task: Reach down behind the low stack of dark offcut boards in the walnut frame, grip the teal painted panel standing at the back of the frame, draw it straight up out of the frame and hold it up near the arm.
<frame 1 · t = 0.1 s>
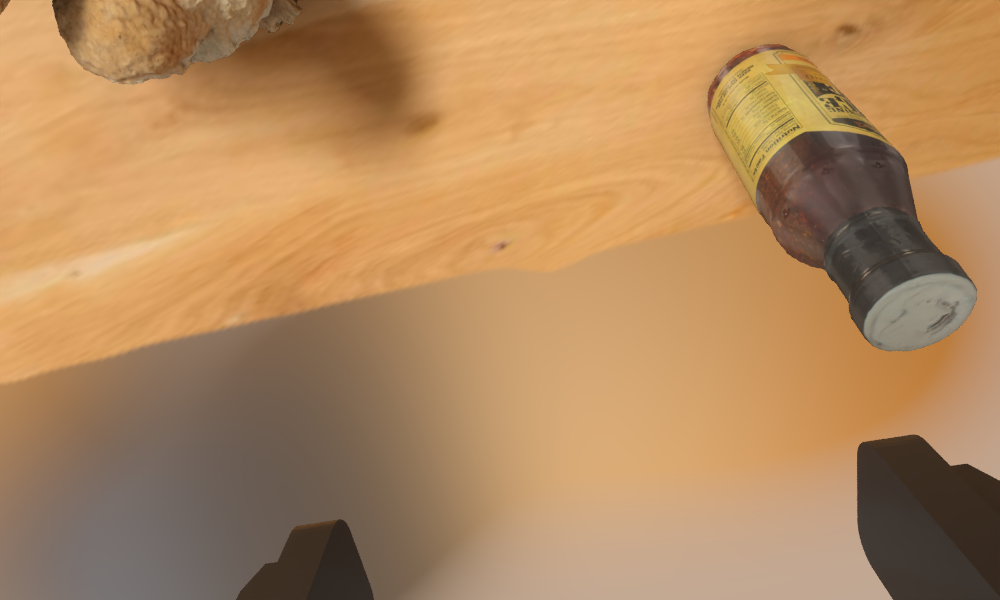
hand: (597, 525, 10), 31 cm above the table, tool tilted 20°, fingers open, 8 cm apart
sauce bottle: (752, 85, 39), on the table
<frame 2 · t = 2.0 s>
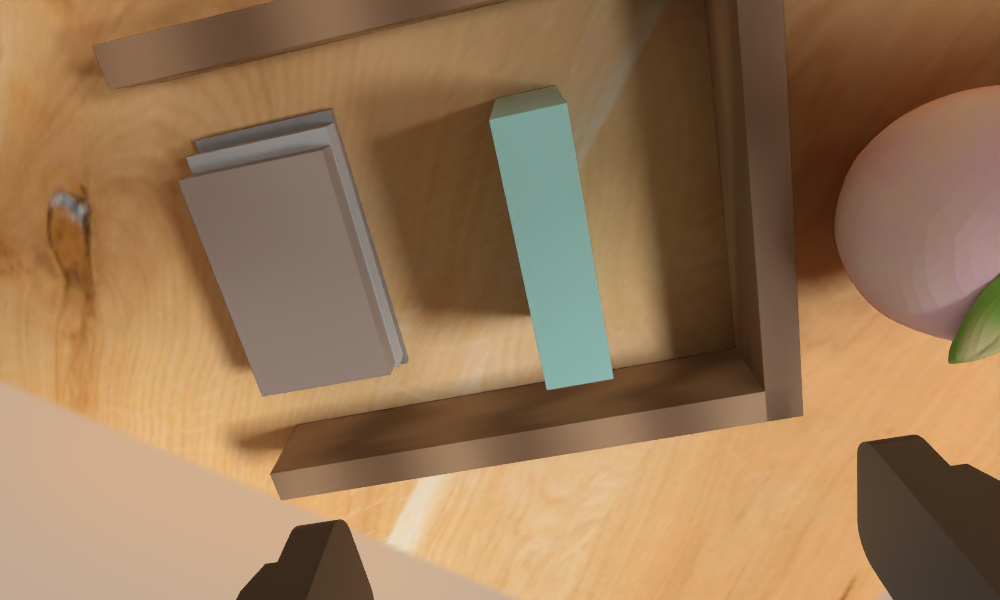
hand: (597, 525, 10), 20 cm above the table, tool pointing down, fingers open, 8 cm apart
teal panel: (547, 207, 29), resting in walnut frame
middle offcut: (307, 259, 30), resting on bottom offcut, touching top offcut
bottom offcut: (315, 250, 31), on the table, touching middle offcut
top offcut: (298, 273, 29), point 2 cm above the table, touching middle offcut
decorative fruit: (887, 184, 28), on the table
walnut frame: (491, 219, 29), on the table
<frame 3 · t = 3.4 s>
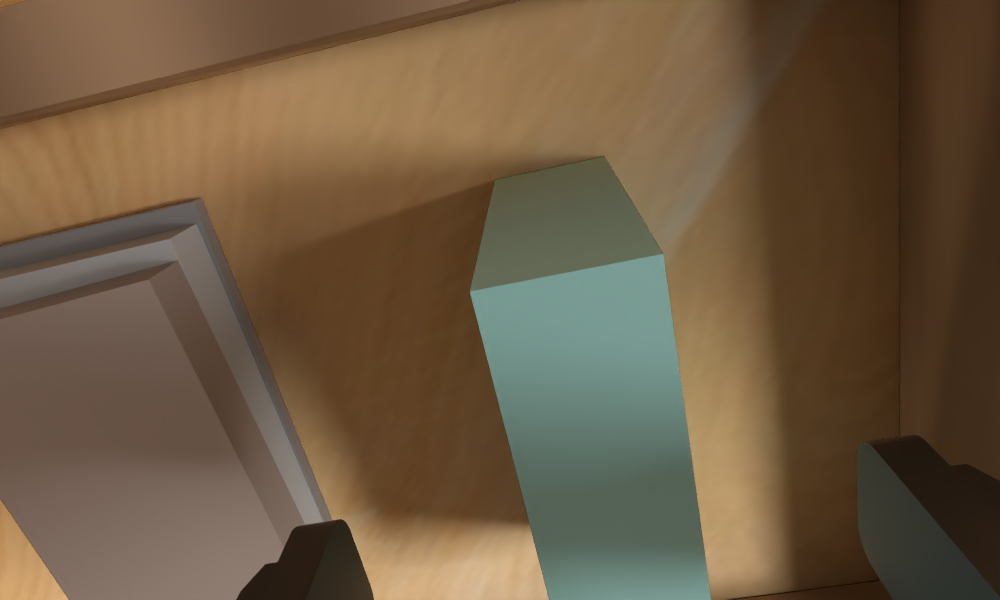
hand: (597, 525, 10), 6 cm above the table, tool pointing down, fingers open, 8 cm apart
teal panel: (586, 361, 17), resting in walnut frame
middle offcut: (176, 443, 18), resting on bottom offcut, touching top offcut
bottom offcut: (199, 417, 19), on the table, touching middle offcut
top offcut: (158, 472, 16), point 2 cm above the table, touching middle offcut
walnut frame: (490, 380, 17), on the table
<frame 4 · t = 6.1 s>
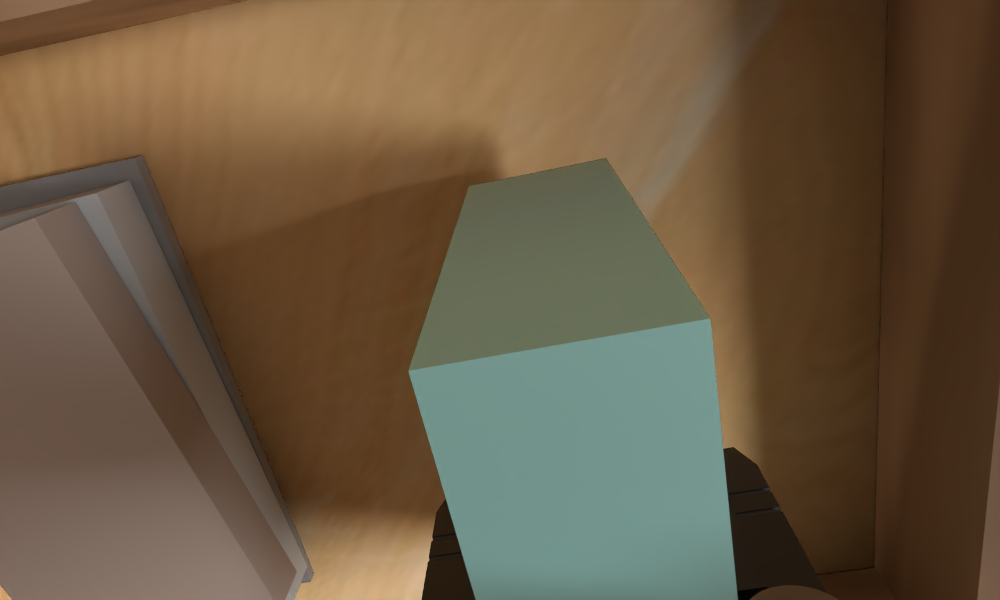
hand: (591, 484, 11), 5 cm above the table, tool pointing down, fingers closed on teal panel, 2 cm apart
teal panel: (581, 407, 14), point 2 cm above the table, touching gripper
middle offcut: (118, 420, 16), resting on bottom offcut, touching top offcut
bottom offcut: (146, 394, 18), on the table, touching middle offcut
top offcut: (86, 443, 15), point 2 cm above the table, touching middle offcut
walnut frame: (454, 357, 16), on the table
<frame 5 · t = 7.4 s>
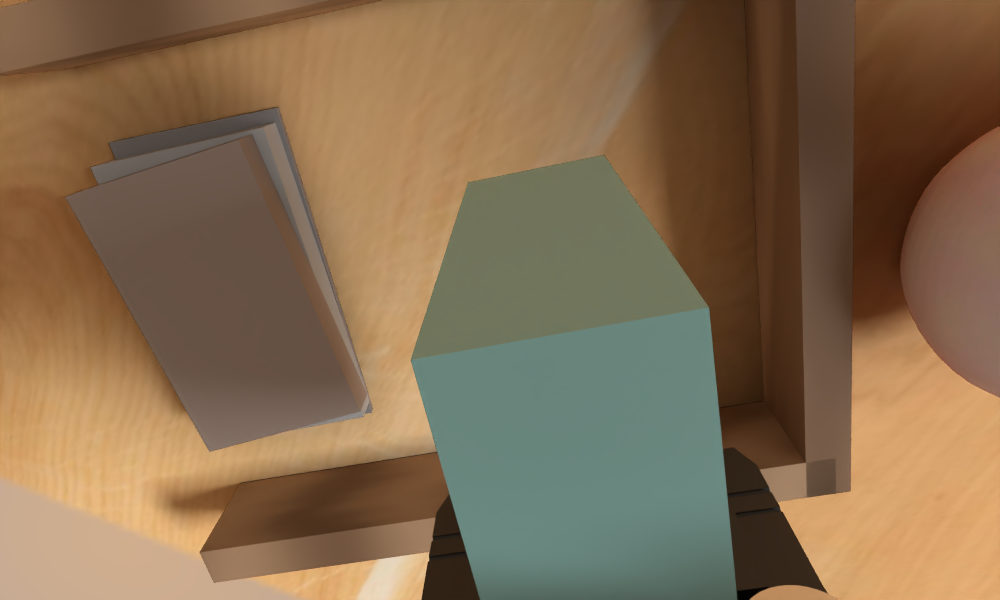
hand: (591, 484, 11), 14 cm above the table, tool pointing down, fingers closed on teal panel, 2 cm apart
teal panel: (579, 403, 14), point 11 cm above the table, touching gripper
middle offcut: (249, 288, 24), resting on bottom offcut, touching top offcut
bottom offcut: (261, 277, 26), on the table, touching middle offcut
top offcut: (235, 297, 23), point 1 cm above the table, touching middle offcut
decorative fruit: (954, 211, 23), on the table
walnut frame: (474, 245, 24), on the table
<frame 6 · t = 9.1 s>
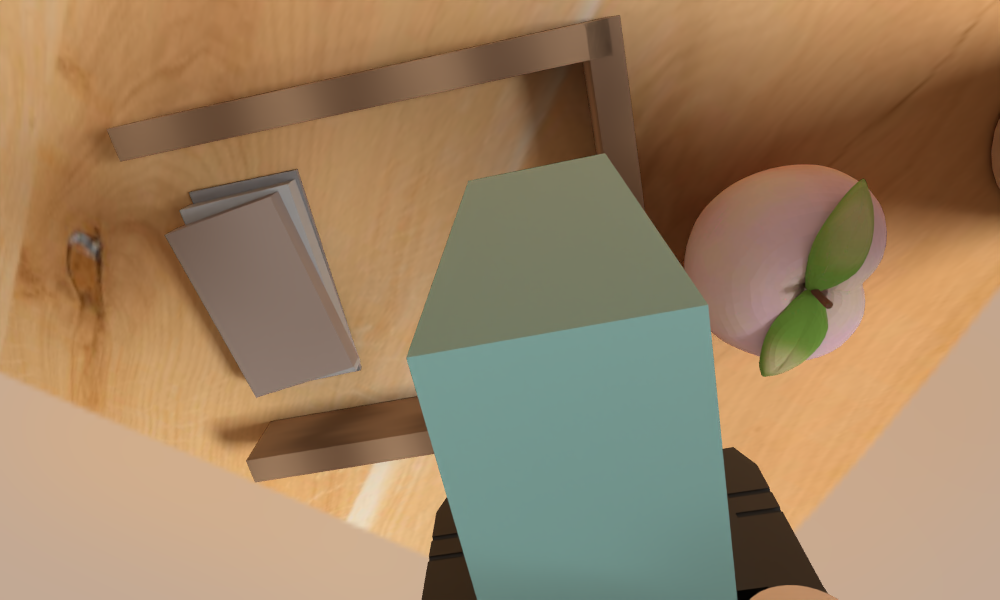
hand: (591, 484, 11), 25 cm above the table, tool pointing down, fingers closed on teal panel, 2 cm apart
teal panel: (580, 403, 14), point 22 cm above the table, touching gripper
middle offcut: (279, 286, 37), resting on bottom offcut, touching top offcut
bottom offcut: (286, 278, 38), on the table, touching middle offcut
top offcut: (270, 295, 36), point 1 cm above the table, touching middle offcut
decorative fruit: (740, 231, 36), on the table
walnut frame: (425, 256, 36), on the table
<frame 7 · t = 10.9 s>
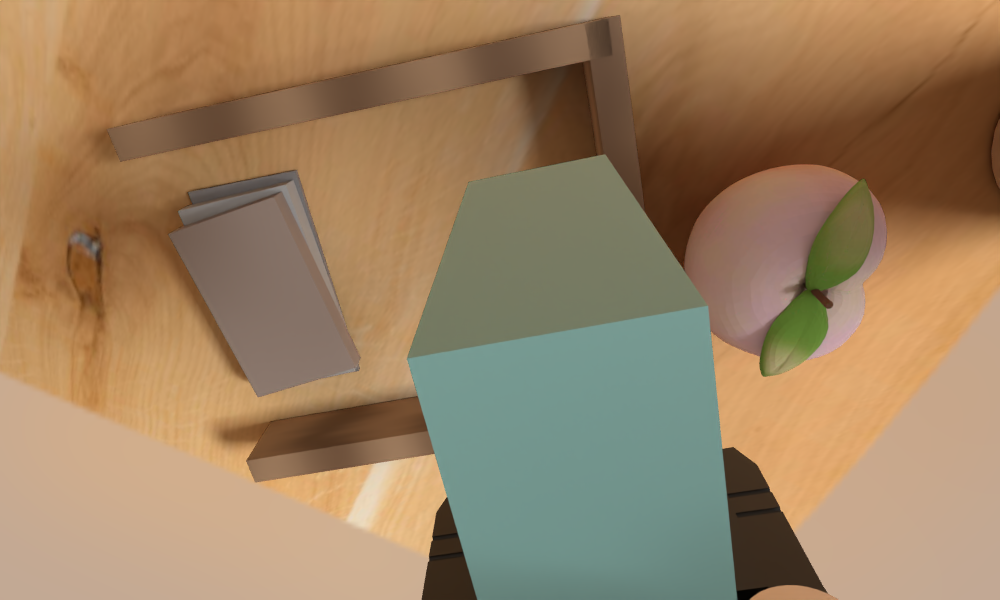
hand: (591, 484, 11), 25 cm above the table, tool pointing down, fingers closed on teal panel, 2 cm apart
teal panel: (580, 404, 14), point 22 cm above the table, touching gripper
middle offcut: (277, 286, 37), resting on bottom offcut, touching top offcut
bottom offcut: (284, 278, 38), on the table, touching middle offcut
top offcut: (273, 295, 36), point 1 cm above the table, touching middle offcut
decorative fruit: (740, 231, 36), on the table
walnut frame: (425, 256, 36), on the table
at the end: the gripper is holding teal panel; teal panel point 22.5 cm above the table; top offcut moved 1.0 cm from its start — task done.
